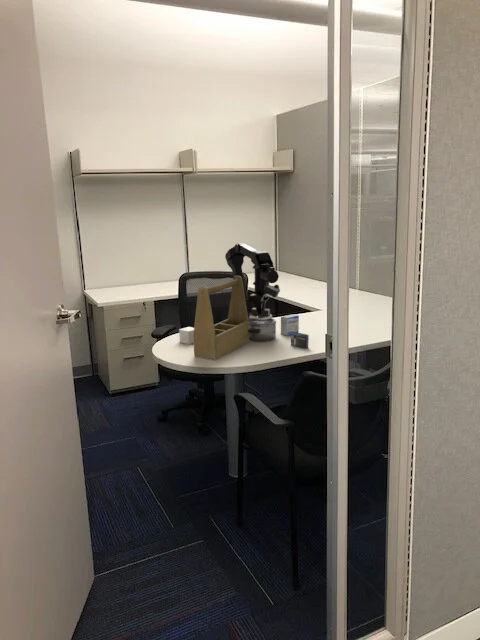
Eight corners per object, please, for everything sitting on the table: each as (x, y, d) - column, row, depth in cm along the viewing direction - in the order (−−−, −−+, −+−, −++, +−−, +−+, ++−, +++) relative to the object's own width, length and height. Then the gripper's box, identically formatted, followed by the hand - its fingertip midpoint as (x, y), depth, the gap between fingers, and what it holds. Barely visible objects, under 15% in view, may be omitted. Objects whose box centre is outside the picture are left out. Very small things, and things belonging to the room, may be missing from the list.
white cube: (188, 344, 228) (188, 331, 227) (179, 342, 232) (179, 329, 231) (198, 341, 233) (198, 328, 231) (189, 339, 236) (188, 326, 235)
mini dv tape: (290, 345, 225) (290, 332, 223) (292, 344, 226) (293, 331, 224) (306, 348, 219) (306, 335, 218) (308, 348, 220) (308, 334, 219)
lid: (246, 319, 231) (246, 310, 230) (253, 313, 241) (253, 305, 239) (268, 321, 228) (268, 312, 227) (274, 315, 237) (275, 307, 236)
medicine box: (287, 336, 239) (287, 318, 237) (280, 334, 242) (280, 316, 240) (298, 332, 244) (299, 315, 242) (292, 331, 247) (292, 313, 245)
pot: (239, 341, 231) (239, 324, 229) (253, 331, 248) (252, 314, 246) (268, 344, 226) (268, 326, 224) (280, 333, 243) (280, 316, 241)
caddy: (215, 360, 206) (213, 287, 198) (193, 357, 211) (190, 285, 203) (249, 342, 230) (248, 276, 223) (229, 339, 235) (227, 274, 228)
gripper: (271, 284, 218) (271, 319, 222) (283, 277, 235) (283, 310, 239) (247, 282, 222) (247, 317, 226) (260, 275, 239) (260, 308, 243)
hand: (260, 313), depth 234 cm, fingers closed on lid, 3 cm apart
